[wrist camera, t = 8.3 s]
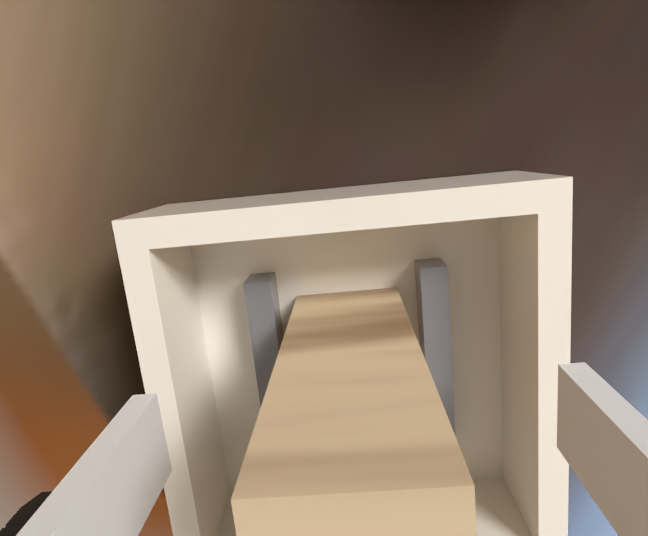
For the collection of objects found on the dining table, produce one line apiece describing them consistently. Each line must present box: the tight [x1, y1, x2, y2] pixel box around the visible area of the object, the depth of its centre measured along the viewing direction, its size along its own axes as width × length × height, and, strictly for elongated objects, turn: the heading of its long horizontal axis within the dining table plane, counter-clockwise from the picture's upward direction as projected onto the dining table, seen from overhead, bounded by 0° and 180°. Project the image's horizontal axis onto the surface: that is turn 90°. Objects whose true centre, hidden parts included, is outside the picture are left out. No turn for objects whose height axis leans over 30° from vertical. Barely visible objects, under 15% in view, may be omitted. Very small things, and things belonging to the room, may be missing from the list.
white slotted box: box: [112, 171, 573, 536], centre depth 19 cm, size 14×14×5 cm
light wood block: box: [231, 287, 476, 536], centre depth 15 cm, size 6×4×12 cm, turn 6°
